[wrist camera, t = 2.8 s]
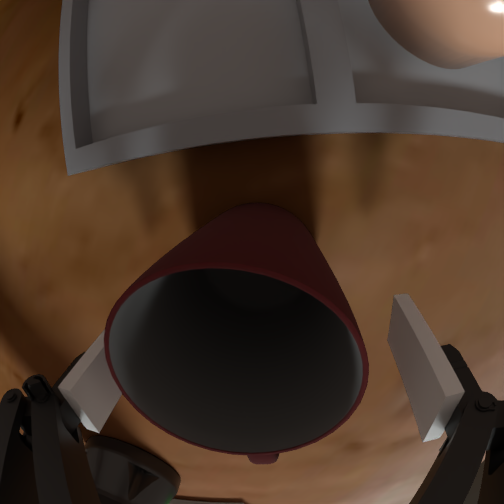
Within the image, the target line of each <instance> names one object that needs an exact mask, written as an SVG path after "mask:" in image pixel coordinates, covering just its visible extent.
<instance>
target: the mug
mask: <svg viewBox="0 0 504 504" xmlns="http://www.w3.org/2000/svg"><path fill="white" fill-rule="evenodd" d="M104 350H105V358H106V361H107V364H108V367H109V370H110V373H111V375H112V378H113V379H114V381H115V383H116V384H117V386H118V388H119V389H120V391H121V393H122V394H123V395H124V397H125V398H126V399H127V400H128V401H129V402H130V404H131V405H132V406H133V407H134V408H135V409H136V410H137V411H138V412H139V413H140V414H141V415H143V416H144V417H145V418H146V419H147V420H149V421H150V422H151V423H152V424H154V425H155V426H157V427H158V428H160V429H162V430H163V431H165V432H166V433H168V434H170V435H172V436H174V437H176V438H178V439H180V440H182V441H185V442H187V443H189V444H192V445H195V446H198V447H201V448H204V449H208V450H211V451H216V452H222V453H227V454H234V455H247V456H248V458H249V460H250V462H252V463H254V464H271V463H274V462H276V461H277V459H278V456H279V453H283V452H287V451H292V450H296V449H299V448H302V447H305V446H307V445H310V444H312V443H315V442H317V441H319V440H321V439H322V438H324V437H326V436H328V435H329V434H331V433H333V432H334V431H335V430H336V429H338V428H339V427H340V426H341V425H342V424H343V423H345V422H346V421H347V420H348V419H349V418H350V416H351V415H352V414H353V412H354V411H355V410H356V408H357V407H358V405H359V404H360V402H361V400H362V398H363V395H364V393H365V390H366V387H367V383H368V375H369V363H368V357H367V352H366V348H365V345H364V342H363V339H362V336H361V333H360V330H359V328H358V325H357V322H356V320H355V317H354V315H353V313H352V310H351V308H350V306H349V303H348V301H347V299H346V297H345V295H344V293H343V291H342V289H341V287H340V285H339V283H338V281H337V279H336V278H335V276H334V274H333V272H332V270H331V268H330V266H329V265H328V263H327V261H326V259H325V258H324V256H323V254H322V252H321V251H320V249H319V247H318V246H317V244H316V242H315V240H314V239H313V237H312V236H311V234H310V232H309V231H308V230H307V228H306V227H305V225H304V224H303V223H302V222H301V221H300V220H299V219H298V218H297V217H296V216H294V215H293V214H292V213H290V212H288V211H287V210H285V209H283V208H280V207H278V206H275V205H271V204H266V203H247V204H243V205H239V206H236V207H233V208H231V209H229V210H227V211H226V212H224V213H222V214H221V215H219V216H218V217H216V218H215V219H213V220H212V221H210V222H209V223H207V224H206V225H204V226H203V227H202V228H200V229H199V230H197V231H196V232H194V233H193V234H192V235H190V236H189V237H188V238H186V239H185V240H183V241H182V242H181V243H179V244H178V245H177V246H175V247H174V248H173V249H172V250H170V251H169V252H168V253H167V254H165V255H164V256H163V257H162V258H160V259H159V260H158V261H157V262H156V263H154V264H153V265H152V266H151V267H150V268H149V269H148V270H147V271H145V272H144V273H143V274H142V275H141V276H140V277H139V278H138V279H137V280H136V281H135V282H134V283H133V284H132V285H131V286H130V287H129V288H128V289H127V290H126V291H125V292H124V293H123V295H122V296H121V297H120V298H119V299H118V300H117V302H116V303H115V305H114V307H113V308H112V310H111V312H110V314H109V317H108V319H107V322H106V327H105V333H104Z"/></svg>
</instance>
